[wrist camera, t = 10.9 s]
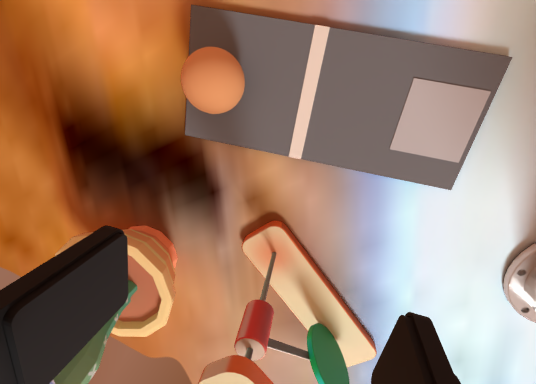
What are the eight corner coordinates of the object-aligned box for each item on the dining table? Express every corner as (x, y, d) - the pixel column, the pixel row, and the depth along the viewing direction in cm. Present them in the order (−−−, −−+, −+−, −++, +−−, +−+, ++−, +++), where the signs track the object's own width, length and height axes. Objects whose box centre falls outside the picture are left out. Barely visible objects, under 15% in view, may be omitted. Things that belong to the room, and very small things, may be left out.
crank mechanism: (239, 239, 38) (170, 379, 20) (279, 216, 36) (240, 351, 18) (338, 361, 43) (352, 557, 26) (379, 348, 41) (424, 553, 23)
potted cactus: (217, 280, 41) (90, 536, 18) (137, 304, 46) (-45, 531, 23) (162, 188, 37) (-95, 369, 14) (79, 224, 41) (-216, 405, 19)
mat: (508, 57, 26) (512, 57, 25) (448, 188, 31) (451, 190, 30) (193, 5, 28) (190, 4, 28) (187, 134, 33) (184, 135, 33)
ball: (255, 55, 28) (238, 49, 23) (247, 115, 31) (229, 123, 25) (199, 45, 29) (169, 37, 24) (195, 105, 31) (167, 110, 26)
